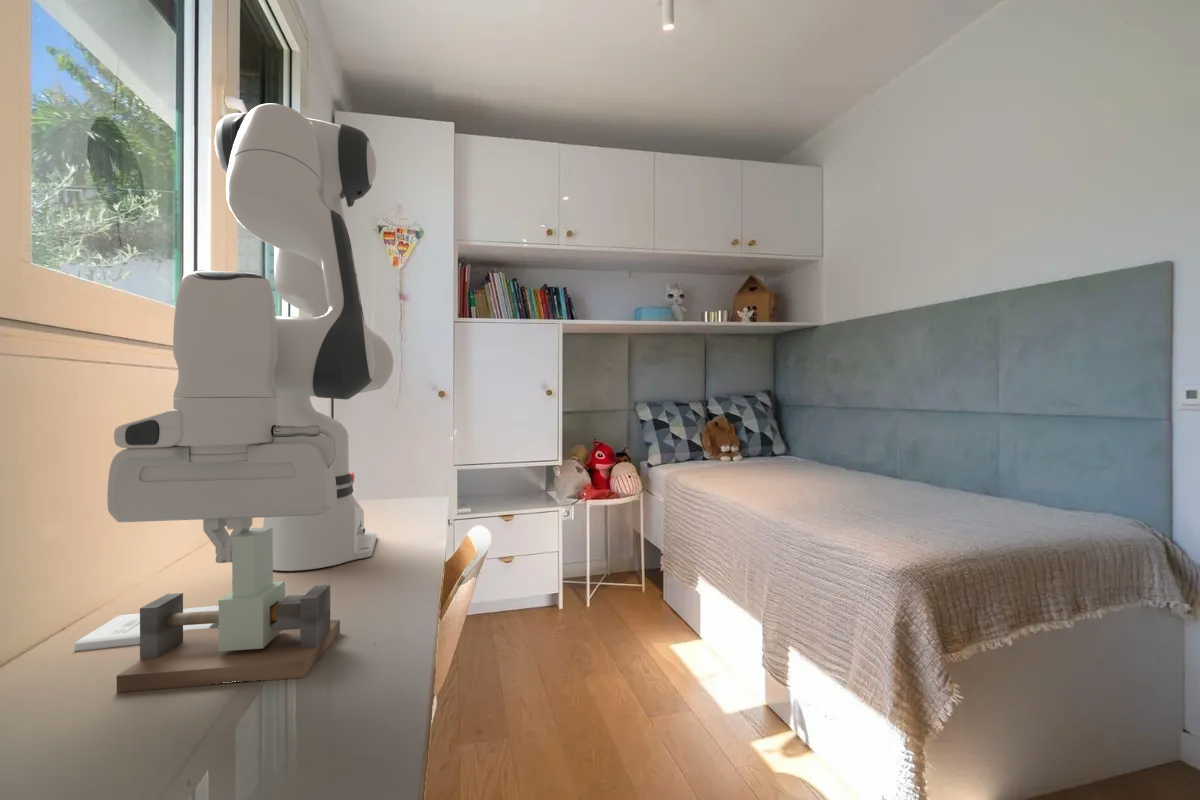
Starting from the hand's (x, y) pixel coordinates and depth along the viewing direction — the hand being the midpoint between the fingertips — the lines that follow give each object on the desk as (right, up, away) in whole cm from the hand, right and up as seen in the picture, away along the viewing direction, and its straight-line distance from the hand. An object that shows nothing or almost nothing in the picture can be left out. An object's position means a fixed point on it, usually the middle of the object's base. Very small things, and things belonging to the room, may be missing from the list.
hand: (229, 561), depth 54 cm
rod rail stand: (+1, -10, 0) cm, 10 cm away
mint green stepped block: (+2, -8, 0) cm, 8 cm away
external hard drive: (-13, -11, +8) cm, 19 cm away
